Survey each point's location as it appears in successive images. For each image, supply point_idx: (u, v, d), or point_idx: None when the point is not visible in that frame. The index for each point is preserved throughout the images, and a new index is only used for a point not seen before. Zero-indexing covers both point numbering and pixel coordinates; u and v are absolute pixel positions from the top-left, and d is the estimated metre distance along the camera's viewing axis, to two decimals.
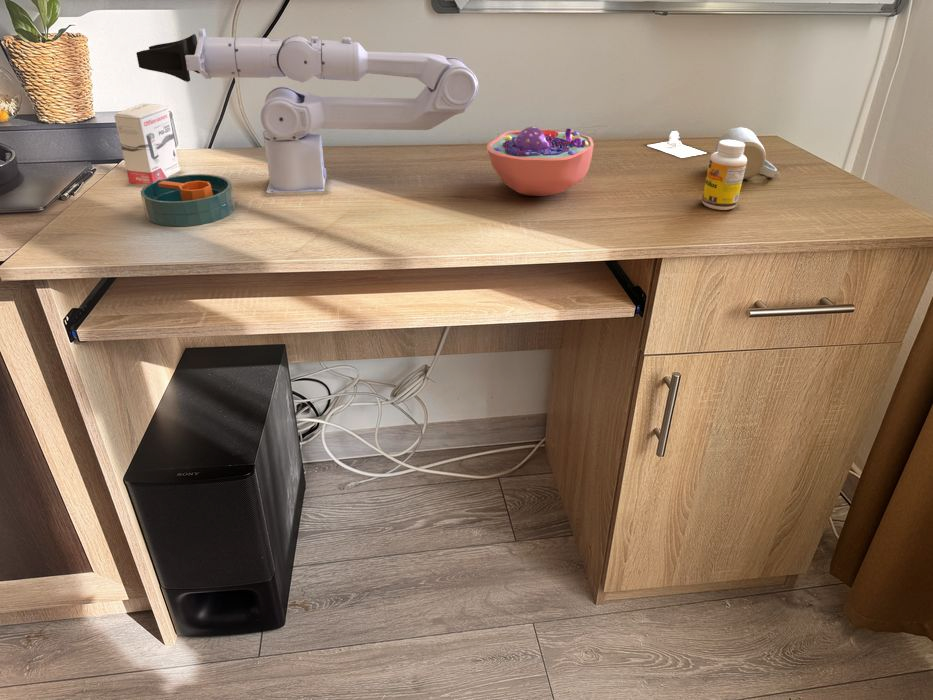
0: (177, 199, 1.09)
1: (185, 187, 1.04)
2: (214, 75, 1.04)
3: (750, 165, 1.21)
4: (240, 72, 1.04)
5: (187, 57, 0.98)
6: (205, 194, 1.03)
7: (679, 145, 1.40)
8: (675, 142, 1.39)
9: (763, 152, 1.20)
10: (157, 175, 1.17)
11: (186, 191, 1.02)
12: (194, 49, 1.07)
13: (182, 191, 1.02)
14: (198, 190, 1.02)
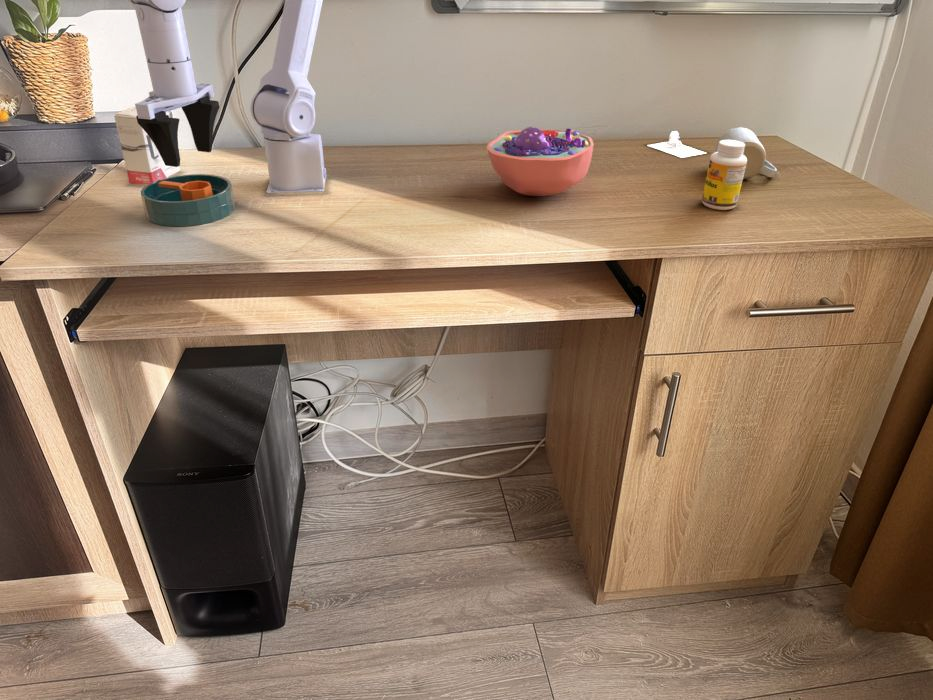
0: (177, 199, 1.09)
1: (185, 187, 1.04)
2: (182, 90, 0.94)
3: (750, 165, 1.21)
4: (188, 57, 0.93)
5: (138, 116, 0.91)
6: (205, 194, 1.03)
7: (679, 145, 1.40)
8: (675, 142, 1.39)
9: (763, 152, 1.20)
10: (157, 175, 1.17)
11: (186, 191, 1.02)
12: (191, 105, 1.01)
13: (182, 191, 1.02)
14: (198, 190, 1.02)
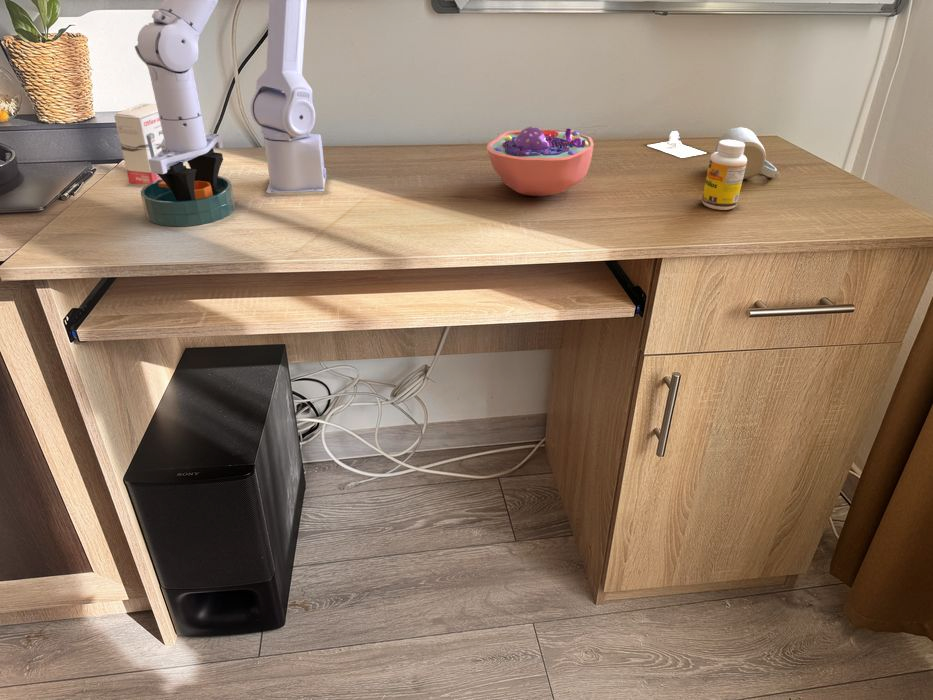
0: None
1: None
2: (193, 144, 0.98)
3: (750, 165, 1.21)
4: (199, 113, 0.97)
5: (152, 170, 0.95)
6: (205, 194, 1.03)
7: (679, 145, 1.40)
8: (675, 142, 1.39)
9: (763, 152, 1.20)
10: (157, 175, 1.17)
11: None
12: (195, 158, 1.03)
13: None
14: (198, 190, 1.02)
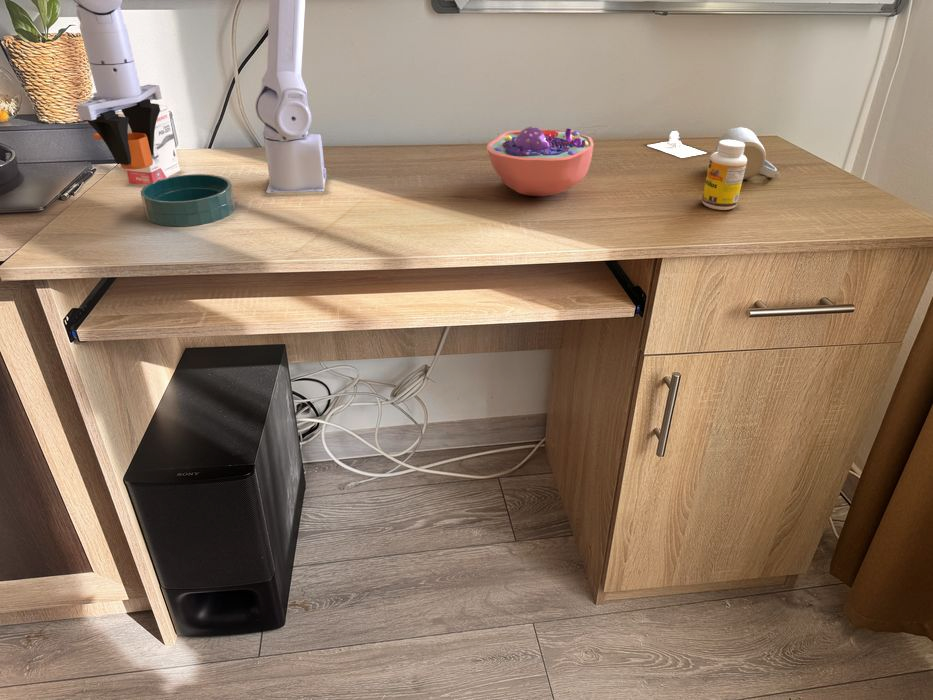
0: (177, 199, 1.09)
1: None
2: (125, 91, 0.95)
3: (750, 165, 1.21)
4: (127, 59, 0.93)
5: (80, 117, 0.92)
6: (140, 145, 0.99)
7: (679, 145, 1.40)
8: (675, 142, 1.39)
9: (763, 152, 1.20)
10: (157, 175, 1.17)
11: None
12: (131, 108, 1.00)
13: None
14: (132, 141, 0.98)
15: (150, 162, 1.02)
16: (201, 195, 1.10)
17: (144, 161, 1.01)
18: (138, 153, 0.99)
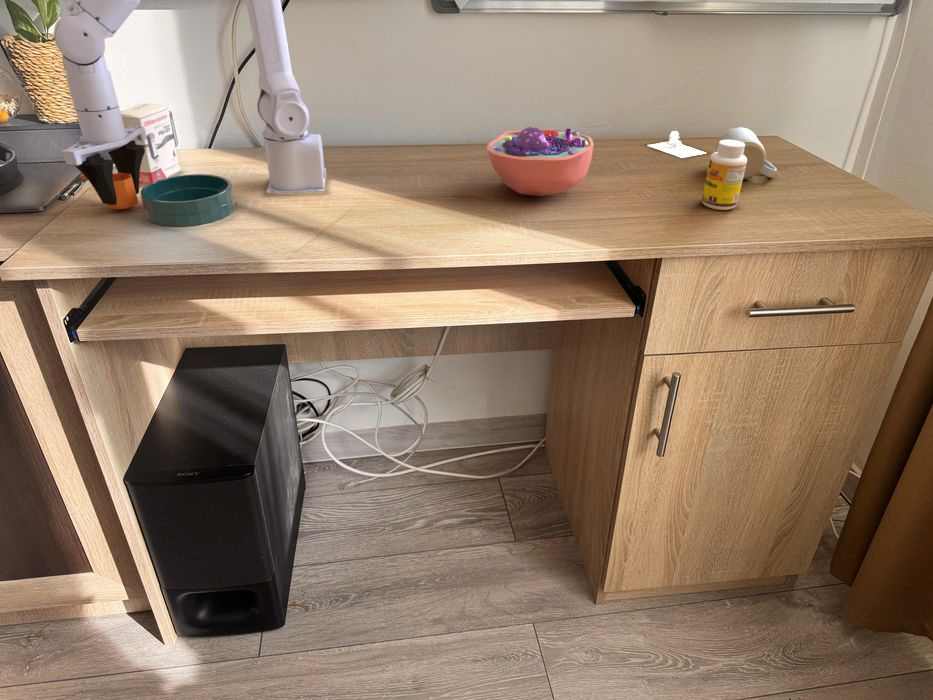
0: (177, 199, 1.09)
1: None
2: (109, 136, 0.98)
3: (750, 165, 1.21)
4: (110, 106, 0.97)
5: (66, 162, 0.96)
6: (125, 186, 1.03)
7: (679, 145, 1.40)
8: (675, 142, 1.39)
9: (763, 152, 1.20)
10: (157, 175, 1.17)
11: None
12: (116, 150, 1.04)
13: None
14: (118, 182, 1.02)
15: (135, 201, 1.05)
16: (201, 195, 1.10)
17: (129, 201, 1.04)
18: (123, 193, 1.03)
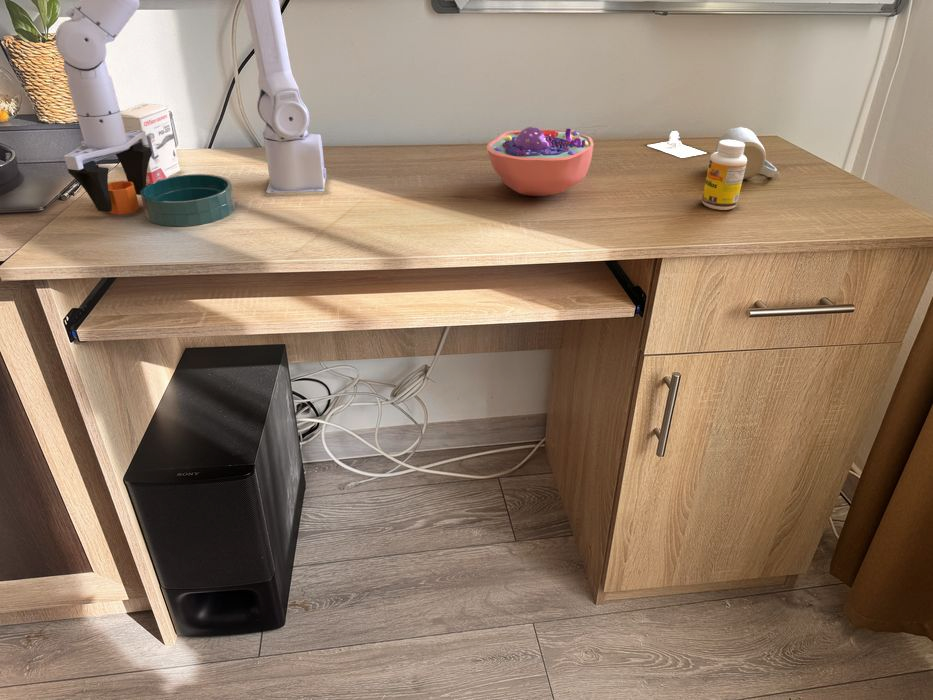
0: (177, 199, 1.09)
1: (109, 187, 1.05)
2: (111, 141, 0.99)
3: (750, 165, 1.21)
4: (111, 111, 0.97)
5: (67, 166, 0.96)
6: (127, 194, 1.04)
7: (679, 145, 1.40)
8: (675, 142, 1.39)
9: (763, 152, 1.20)
10: (157, 175, 1.17)
11: None
12: (124, 152, 1.05)
13: None
14: (120, 190, 1.03)
15: (137, 209, 1.06)
16: (201, 195, 1.10)
17: (131, 209, 1.05)
18: (125, 201, 1.04)
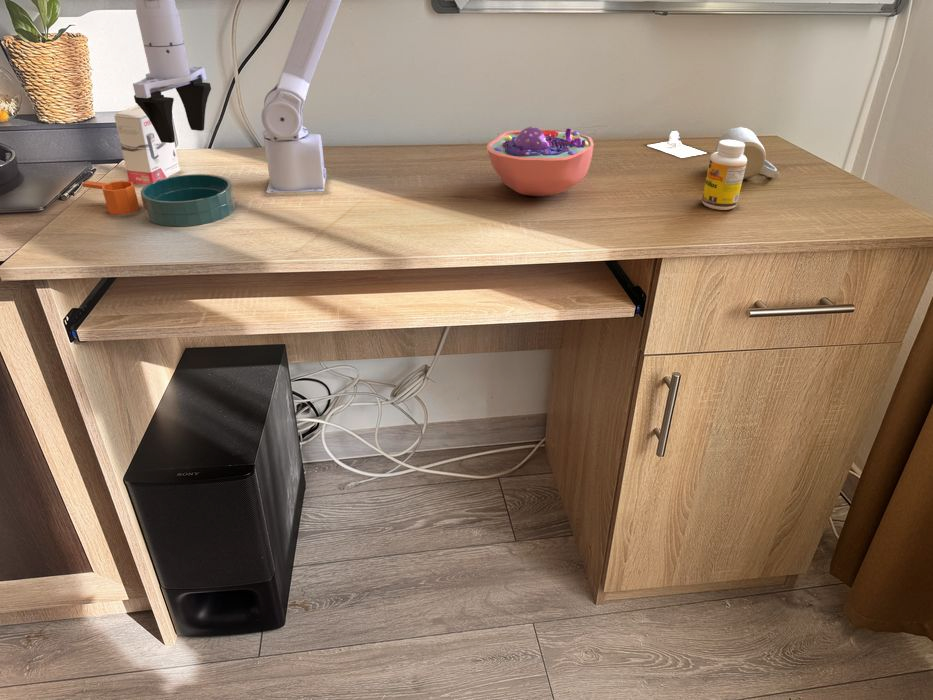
0: (177, 199, 1.09)
1: (109, 187, 1.05)
2: (176, 72, 1.02)
3: (750, 165, 1.21)
4: (173, 43, 1.00)
5: (136, 95, 1.00)
6: (127, 194, 1.04)
7: (679, 145, 1.40)
8: (675, 142, 1.39)
9: (763, 152, 1.20)
10: (157, 175, 1.17)
11: (108, 191, 1.03)
12: (185, 87, 1.09)
13: (104, 191, 1.03)
14: (120, 190, 1.03)
15: (137, 209, 1.06)
16: (201, 195, 1.10)
17: (131, 209, 1.05)
18: (125, 201, 1.04)
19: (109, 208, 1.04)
